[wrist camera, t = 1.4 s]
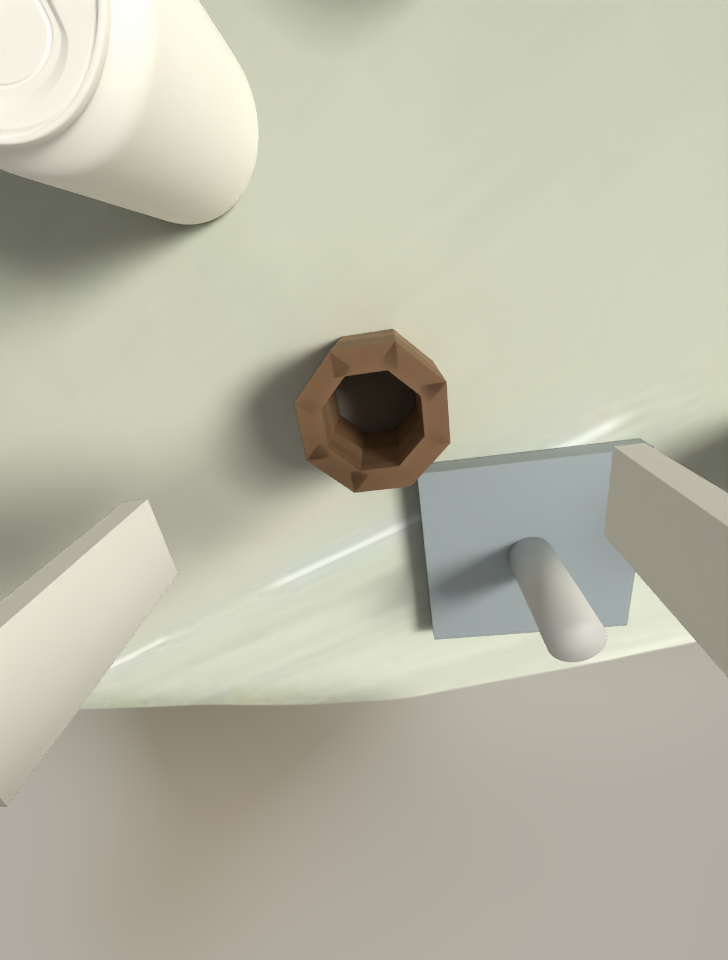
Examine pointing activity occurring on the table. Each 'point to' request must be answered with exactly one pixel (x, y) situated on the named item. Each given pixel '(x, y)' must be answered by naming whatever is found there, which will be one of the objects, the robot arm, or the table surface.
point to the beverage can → (126, 105)
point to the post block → (525, 548)
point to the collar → (384, 452)
